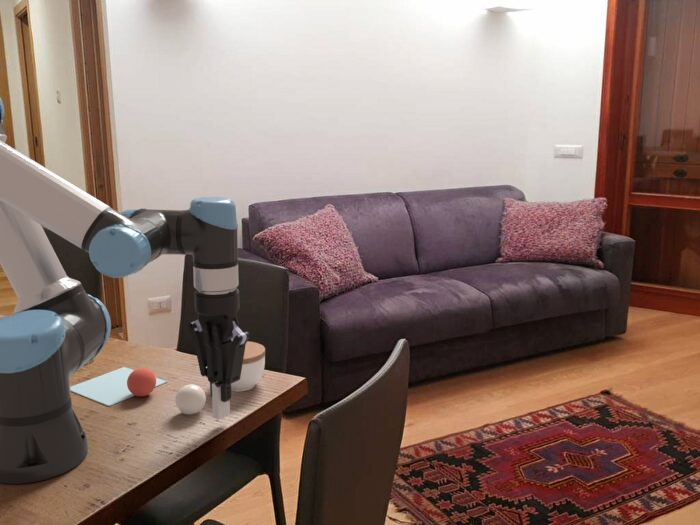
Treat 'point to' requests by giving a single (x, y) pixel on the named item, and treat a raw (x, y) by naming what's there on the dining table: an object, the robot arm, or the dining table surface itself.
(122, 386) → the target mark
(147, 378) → the red ball
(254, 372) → the lidded jar
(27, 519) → the dining table surface
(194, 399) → the cue ball
